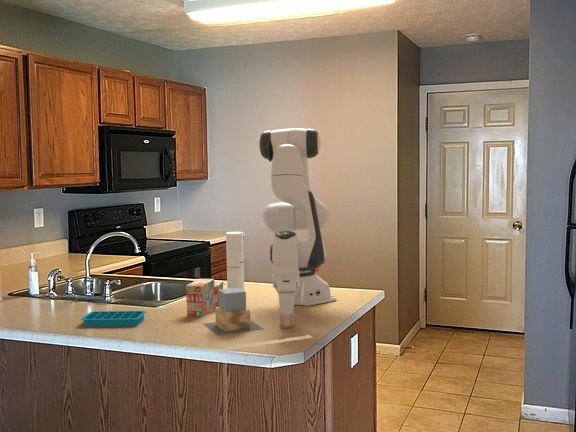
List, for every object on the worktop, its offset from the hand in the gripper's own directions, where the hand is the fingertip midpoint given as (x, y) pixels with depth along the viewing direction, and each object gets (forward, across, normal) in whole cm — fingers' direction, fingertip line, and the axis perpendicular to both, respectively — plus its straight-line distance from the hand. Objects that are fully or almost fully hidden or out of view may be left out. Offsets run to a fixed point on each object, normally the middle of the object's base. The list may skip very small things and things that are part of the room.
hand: (286, 322), depth 209 cm
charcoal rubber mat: (+2, -1, -18) cm, 18 cm away
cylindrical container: (+2, -62, -21) cm, 65 cm away
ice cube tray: (+3, -14, -60) cm, 62 cm away
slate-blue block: (-5, -1, -18) cm, 18 cm away
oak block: (+1, -1, -18) cm, 18 cm away
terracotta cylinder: (+2, 0, 0) cm, 2 cm away
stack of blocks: (+2, -26, -30) cm, 40 cm away
